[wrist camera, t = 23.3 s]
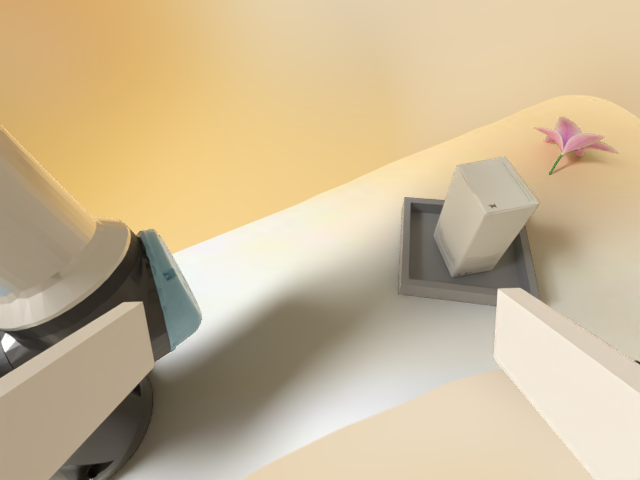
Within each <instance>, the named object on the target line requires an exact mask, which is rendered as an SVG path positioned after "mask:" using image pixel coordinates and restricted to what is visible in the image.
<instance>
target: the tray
mask: <svg viewBox="0 0 640 480" xmlns="http://www.w3.org/2000/svg"><path fill="white" fill-rule="evenodd" d="M444 202H445V200H435V199H422V198H408V197H405V198H404V202H403V207H402V217H401V239H400V261H399V283H398V294H403V295H411V296H419V297H427V298H435V299H443V300H451V301H459V302H467V303H475V304H483V305H491V306H497V292H498V289H499V288H521V289H523V290H524V291H526V292H528V293H529V294H531V295H532V296H534V297H535V298H537V299H538V300H540V295H539V291H538V286H537V281H536V276H535V271H534V266H533V261H532V256H531V252H530V247H529V242H528V237H527V232H526V227H525V225H524V226H523V228H522V229H521V230H520V232H519V233H518V235H517V236H516V237H515V239H514V240H513V241H512V243H511V244H510V246H509V247H508V248H507V250H506V251H505V253H504V254H503V255H502V257H501V258H500V260H499V261H498V262H497V264H496V265H495V267H494V268H493V269H492V270H491V271H485V272H480V273H475V274H469V275H464V276H458V277H451V275H450V272H449V270H448V268H447V266H446V264H445V261H444V259H443V257H442V254H441V252H440V250H439V248H438V245H437V243H436V241H435V239H434V236H433V235H434V232H435V229H436V226H437V223H438V220H439V217H440V214H441V211H442V208H443V205H444ZM540 301H541V300H540Z"/></svg>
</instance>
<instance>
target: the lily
mask: <svg viewBox="0 0 640 480" xmlns="http://www.w3.org/2000/svg"><path fill="white" fill-rule="evenodd" d="M534 129H537V130H539V131H541V132H543V133H545V134H546V135H548V136H547V137H546V138H545V139H544V140H543V141H544V142H548V143H557V144H558V145H559V147H560V149H561V151H562V153H561V155H560V156H559V158H558V160H557V161H556V163H555V164H554V166H553V168H552V170H551V171H550V173H549V174H550V175H551V173H552V171H553V170H554V168H555V166H556V165H557V163H558V161H559V160H560V158H561V157H562V156H563V154H565V153H568V152H574V153H575V154H576V155H577V156H579V157H582V156H583V155H584V153H585V151H586V150H584V149H598V150H603V151H608V152H612V153H618V151H616V150H615V149H614V148H612V147H611V146H609V145H607V144H605V143H602V142H599V141H600V140H601V139H603V138H605V137H604V136H601V135H596V134H581V130H580V128H579V127H578V126H577V125H576V124H575V123H574V122H572V121H571V120H569V119H567V118H565V117H559V119H558V121H557V124H556V128H555V130H551V129H547V128H539V127H534ZM577 149H582V150H577Z"/></svg>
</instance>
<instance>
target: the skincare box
mask: <svg viewBox="0 0 640 480" xmlns="http://www.w3.org/2000/svg"><path fill="white" fill-rule="evenodd" d="M539 204H540V203H539V201H538V200H537V199H536V197H535V196H534V195H533V193H532V192H531V191H530V189H529V188H528V187H527V185H526V184H525V183H524V181H523V180H522V178H521V177H520V176H519V174H518V173H517V172H516V170H515V169H514V167H513V166H512V165H511V163H510V162H509V160H508V159H507V158H506V157H499V158H494V159H489V160H484V161H479V162H473V163H467V164H462V165H457V166H456V169H455V172H454V175H453V178H452V181H451V184H450V187H449V190H448V193H447V196H446V199H445V202H444V205H443V208H442V211H441V214H440V217H439V220H438V223H437V226H436V229H435V232H434V235H433V236H434V239H435V241H436V243H437V245H438V248H439V250H440V252H441V254H442V257H443V259H444V261H445V264H446V266H447V268H448V270H449V272H450V275H451V277H458V276H464V275H469V274H475V273H480V272H485V271H491V270H492V269H493V268H494V267H495V265H496V264H497V262H498V261H499V260H500V258H501V257H502V255H503V254H504V253H505V251H506V250H507V248H508V247H509V246H510V244H511V243H512V241H513V240H514V239H515V237H516V236H517V235H518V233H519V232H520V230H521V229H522V228H523V226H524V225H525V224H526V222H527V221H528V219H529V218H530V217H531V215H532V214H533V212H534V211H535V210H536V208H537V207H538V205H539Z"/></svg>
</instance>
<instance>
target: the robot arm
mask: <svg viewBox="0 0 640 480" xmlns="http://www.w3.org/2000/svg"><path fill="white" fill-rule="evenodd" d="M201 320H202V315H201V311H200V308H199V306H198V304H197V301H196V299H195V297H194V295H193V293H192V291H191V289H190V287H189V285H188V283H187V282H186V280H185V278H184V276H183V274H182V272H181V270H180V269H179V267H178V265H177V263H176V262H175V260H174V258H173V256H172V255H171V253H170V251H169V249H168V248H167V246H166V244H165V243H164V241H163V240H162V238H161V237H160V235H158V234H157V232H156V231H155V230H153V229H149V230H146V231H140V232H139V233H138V234H137V235H135V234H134V233H133V232H132V231H131V230H130V229H129V228H128V226H127V225H126V224H125V223H123V222H122V221H121V220H119V219H115V218H108V217H93V216H91V215H90V214H89V213H88V212H87V211H86V210H85V209H84V208H83V207H82V206H81V205H80V204H79V203H78V202H77V201H76V200H75V199H74V198H73V197H72V196H71V195H70V194H69V193H68V192H67V191H66V190H65V189H64V188H63V187H62V186H61V185H60V184H59V183H58V182H57V181H56V180H55V179H54V178H53V177H52V176H51V175H50V174H49V173H48V172H47V171H46V170H45V169H44V168H43V167H42V166H41V165H40V164H39V163H38V162H37V161H36V159H35V158H33V157H32V155H30V153H29V152H27V151H26V149H24V147H23V146H22V145H21V144H20V143H19V142H18V141H17V140H16V139H15V138H14V137H13V136H12V135H11V134H10V133H9V132H8V131H7V130H6V129H5V128H4V127H3V126H2V125H1V124H0V480H107V479H108V478H110V477H111V476H112V475H114V474H115V473H116V472H117V471H118V470H119V469H121V468H122V467H123V466H124V464H125V463H126V462H127V461H128V460H129V459H130V458H131V456H132V455H133V454H134V452H135V451H136V449H137V448H138V446H139V444H140V443H141V441H142V439H143V437H144V435H145V433H146V430H147V427H148V425H149V421H150V418H151V413H152V406H153V394H152V388H151V384H150V381H149V379H148V377H147V374H148V373H149V372H150V371H151V370H152V369H153V367H154V366H155V363H154V362H156V361H157V360H159V359H160V358H162V357H163V356H165V355H166V354H168V353H169V352H172V351H173V350H175V348H176V346H177V345H179V344H180V343H181V342H183V341H184V340H185V339H187V338H188V337H189V336H191V335H192V334H193V333H194V332H196V330H197V329H198V327H199V325H200V323H201ZM493 358H494V359H495V361H496V362H497V363H498V364H499V366H500V367H501V368H502V369H503V370H504V372H505V373H506V374H507V375H508V376H509V378H510V379H511V380H512V381H513V382H514V383H515V385H516V386H517V387H518V388H519V390H520V391H521V392H522V393H523V394H524V396H525V397H526V398H527V399H528V401H529V402H530V403H531V404H532V405H533V407H534V408H535V409H536V410H537V411H538V413H539V414H540V415H541V416H542V417H543V419H544V420H545V421H546V422H547V423H548V425H549V426H550V427H551V428H552V429H553V431H554V432H555V433H556V434H557V436H558V437H559V438H560V439H561V440H562V442H563V443H564V444H565V445H566V446H567V448H568V449H569V450H570V451H571V452H572V454H573V455H574V456H575V457H576V458H577V460H578V461H579V462H580V463H581V464H582V466H583V467H584V468H585V469H586V470H587V472H588V473H589V474H590V475H591V477H592V478H593V479H594V480H640V362H639V361H633V360H632V359H630V358H628V357H627V356H625V355H624V354H622V353H621V352H619V351H618V350H616V349H614V348H613V347H611V346H610V345H608V344H607V343H605V342H604V341H602V340H601V339H599V338H597V337H596V336H594V335H593V334H591V333H590V332H588V331H587V330H585V329H583V328H582V327H580V326H579V325H577V324H576V323H574V322H573V321H571V320H569V319H568V318H566V317H565V316H563V315H562V314H560V313H559V312H557V311H555V310H554V309H552V308H551V307H549V306H548V305H546V304H545V303H543V302H542V301H540V300H538V299H537V298H535V297H534V296H532V295H531V294H529V293H528V292H526V291H524V290H523V289H521V288H499V289H498V292H497V308H496V325H495V341H494V357H493Z"/></svg>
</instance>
